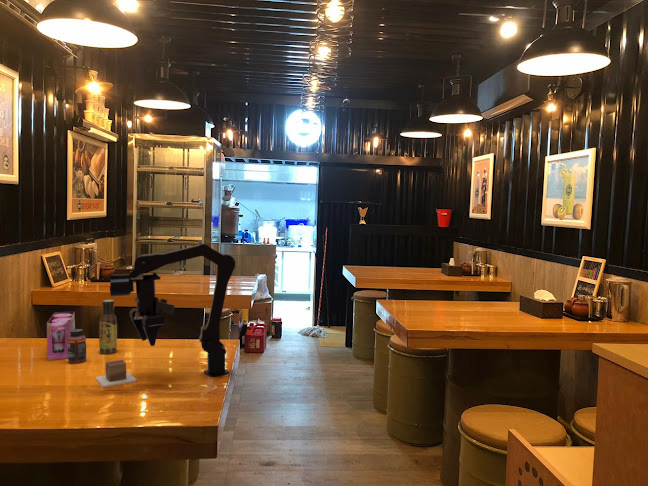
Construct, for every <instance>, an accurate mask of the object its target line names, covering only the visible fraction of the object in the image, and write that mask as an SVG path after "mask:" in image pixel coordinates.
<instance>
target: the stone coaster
mask: <svg viewBox="0 0 648 486" xmlns="http://www.w3.org/2000/svg"><path fill="white" fill-rule="evenodd" d="M95 380H96V382H98V384H99V385H100V386H101V387H102V388H106V387H108V388H109V387H112V386H119V385H124V384H130V383H135V382H138V379H137V378H136V377H135V376H133V375H132V373H130V372H129V371H126V379H124V380H118V381H112V382H109V381H108V380H107V379H106V375H100V376H96V377H95Z"/></svg>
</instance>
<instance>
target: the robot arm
mask: <svg viewBox="0 0 648 486" xmlns="http://www.w3.org/2000/svg"><path fill="white" fill-rule="evenodd" d="M200 257H204V258H205V259H207V260H209V261H210V262H212V263H213V264H215V284H214V290H213V295H212V299H211V305H210V310H209V315H208V320H207V323H206V325H205V326H203V325H201V326H200V334H199V336H198V339H199V342H200V344H201V349H202V350H203V351H204V352H205V353H207V357H206V358H207V369H205V370H203V373H204V374H206V375H207V376H209V377H210V378H211V377H212V378H213V377H218V376H223V375H228V374H230V371H228V370H227V369H226V353H227V350H226V347H225V345H224V344H223V342H221V340H220V339H221V337H220V335H221V334H220V333H221V332H220V331H221V329H220V327H221V326H220V325H221V319H222V313H223V310H224V309H223V308H224V303H225V299H226V294H227V290H228V288H227V287H228V284H229V281H230V280H231V278H232V276H233V275H232V274H233V273H234V270H235V267H236V260H235V258H234V257H233V256H232V255H230V253H229V254H228V253H220V252H219V251H217V250H215V248H212V247H210V246H209V245H208V244H206V243H203V242H202V243H199V244H196V245H192V246H188V247H183V248H179V249H177V250H171V251H167V252H164V253H163V252H162V253H161V252H159V253H146V254H145V253H144V254H143V253H142V254H141V255H139V256H137V258H136V259H135V261H134V264H133V266H134V268H133V269H132V270H130V272H129V273H127V274H116V273H115V274H111V275H110V283H109V284H110V286H109V295H110V297H112V298H113V297H125V296H126V297H127V296H131V294H132V293H134V292H135V293H136V294H135V296H136V297H134V301H135V302H136V308H131V310H130V311H129V312H128V313H129V318H130V320H131V322H132V323H133V325H134V327H135V330H136V331H137V333H138V336H139V337H140V339H141V341H146V340H147V341H148V343H149V345H150V347H154V346H155V345H156V342H157V337H158V333H159V329H161V328H162V327H163V326H165V324H166V323H167V322H166V321H167V319H166V316H165V315H164V314H168V315H170V316H171V315H173V313H174V310H175V305H174V304H172V303H168V300H167V299H165V298H160V299H159V298H158V296H156V282H155V281H156V280H157V281H159V280H161V276H160V275H159V274H158V273H157V272H156V270H158V269H160V268H162V267H165V266H167V265H170V264H174V263H178V262H183V261H186V260H190V259H195V258H200ZM151 272H153V273H151ZM149 273H151V274H149ZM142 274H143V275H142ZM141 275H142V277H140V276H141ZM162 313H164V314H162Z"/></svg>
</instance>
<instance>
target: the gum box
mask: <svg viewBox="0 0 648 486" xmlns="http://www.w3.org/2000/svg"><path fill="white" fill-rule="evenodd" d="M75 313H76V312H75V311H62V312H61V311H59V312H53V313H52V315H51V317H50V318H49V319H48V321H47V322H46V360H47V361H52V360H65V359H67V360H68V337H70V335H71V334H70V331H71V330H75V329H76V321H75V319H76V317H75V316H76V315H75Z"/></svg>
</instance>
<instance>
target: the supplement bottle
mask: <svg viewBox="0 0 648 486" xmlns="http://www.w3.org/2000/svg"><path fill="white" fill-rule="evenodd" d="M83 331H84V330H83V329H81V328H75V330H71V331H70V334H71V335H70V337H68V359H67V361H68V363H69V364H82V363H84V362H86V361H87V337H86V335H84V332H83Z"/></svg>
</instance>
